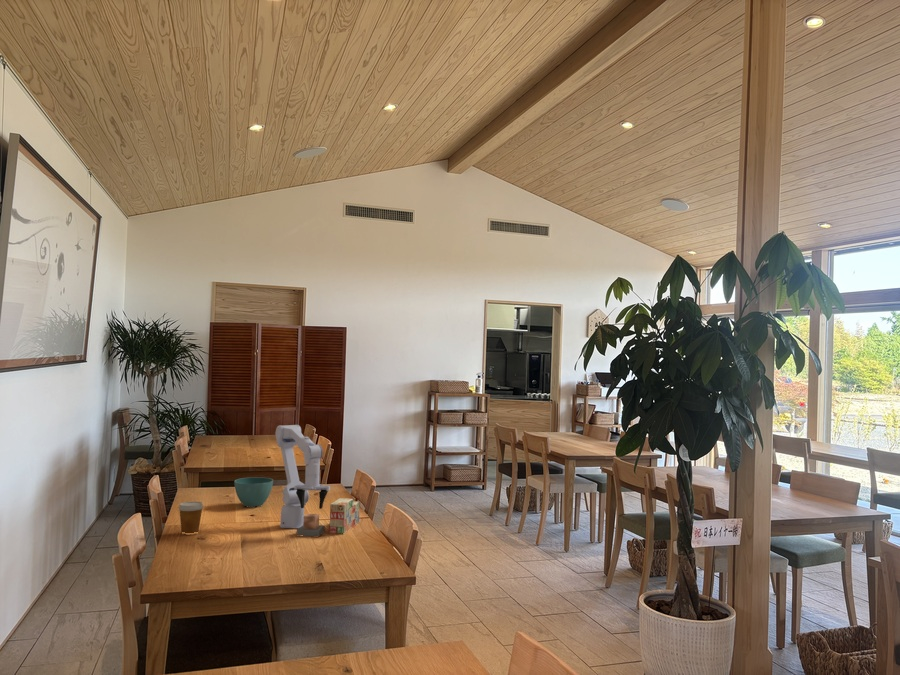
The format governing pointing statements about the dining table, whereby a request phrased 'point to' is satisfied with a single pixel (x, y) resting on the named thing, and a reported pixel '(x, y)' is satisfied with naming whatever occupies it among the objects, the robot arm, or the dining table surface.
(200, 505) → the disposable coffee cup
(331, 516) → the stack of blocks
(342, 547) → the dining table surface
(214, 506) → the dining table surface
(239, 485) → the teal bowl
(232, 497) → the dining table surface
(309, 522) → the terracotta cube
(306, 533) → the charcoal slab
